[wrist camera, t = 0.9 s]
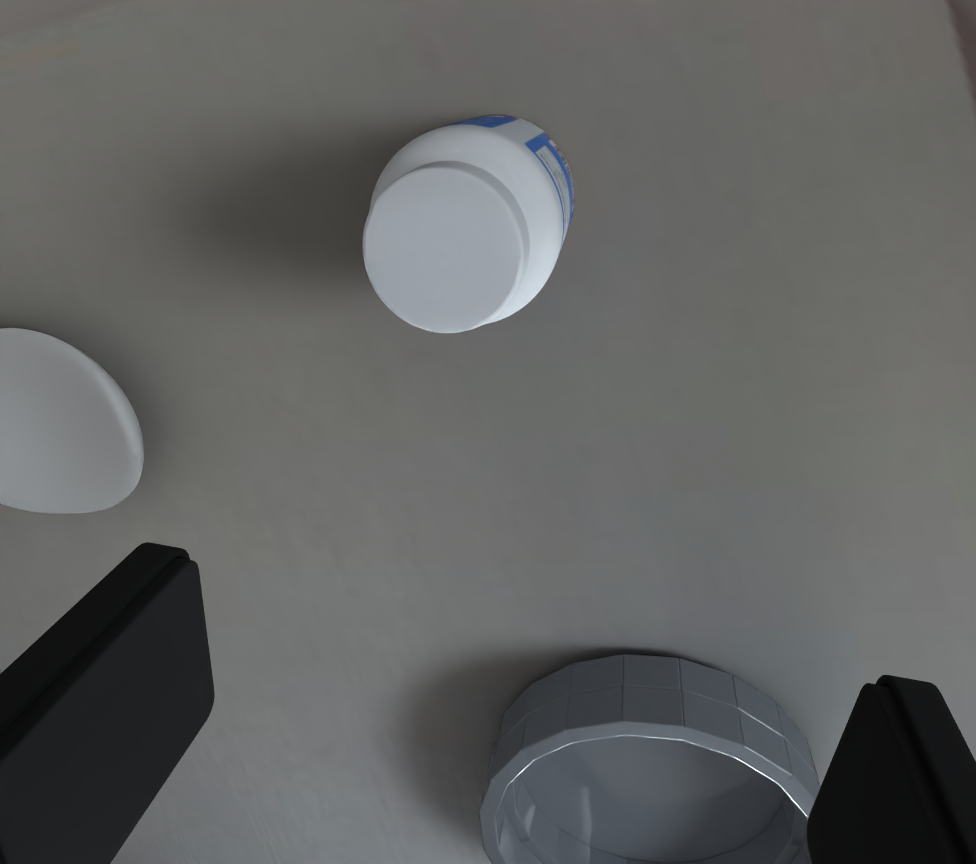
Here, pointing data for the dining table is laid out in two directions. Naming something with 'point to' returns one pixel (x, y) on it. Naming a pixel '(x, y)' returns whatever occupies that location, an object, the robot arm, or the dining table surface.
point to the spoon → (63, 429)
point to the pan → (647, 770)
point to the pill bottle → (468, 223)
